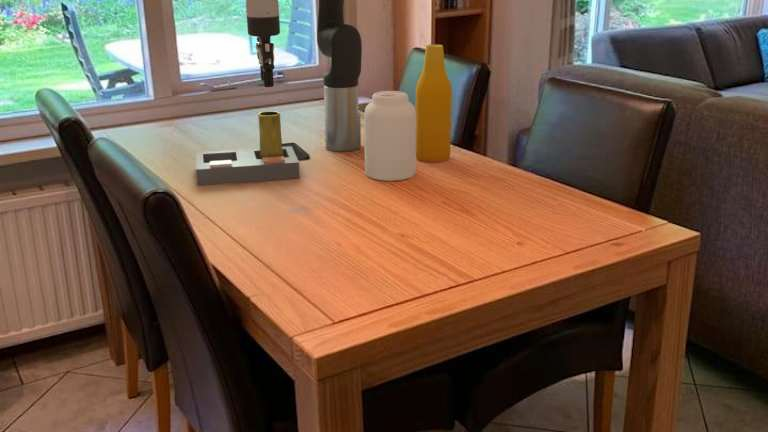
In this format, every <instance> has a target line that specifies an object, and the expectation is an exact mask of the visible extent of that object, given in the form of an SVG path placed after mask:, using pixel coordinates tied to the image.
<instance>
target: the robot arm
mask: <svg viewBox="0 0 768 432" xmlns="http://www.w3.org/2000/svg"><path fill="white" fill-rule="evenodd" d="M344 2H345V0H318V13H317V25H316V26H317V27H316V29H317V30H316V43H317V46H318V50H319V51H320V53H321V54H322V55H323V56H325V57H328V58H331V59H330V70H329V71H328V72H326V73H325V74H324V75H323V100H324V101H323V103H324V104H323V106H324V132H325V133H324V134H325V136H324V137H325V139H324V140H325V142H324V143H325V148H326V149H327V150H328V151H333V152H351V151H354V150H358V149H359V150H361V149H362V146H361V145H362V135H361V131H362V126H361V125H362V124H361V122H362V121H361V113H359V112H360V111H359V79H360V75H361V73H362V51H363V50H362V48H363V46H362V43H363V42H362V37H361V34H360V32H359V30H358V29H357V28H356V27H355V26H354V25H351V24H347V23H345V19H344V15H345V14H344V4H345V3H344ZM245 10H246V11H245V13H246V24H247V34H248V36H252V37H256V42H255V49H256V55H257V60H258V64H259V67H260V68H259V69H260V70H259V71H260V79H261V81H263V85H264V87H265V88H272V87H274V85H275V84H274V70H275V54H274V53H275V52H274V51H275V44H274V42H273V41H271V37H272V36H273V37H274V36H279V35H280V34H281V24H280V20H281V19H280V11H279V10H280V5H279V0H245Z"/></svg>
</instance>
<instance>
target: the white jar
mask: <svg viewBox="0 0 768 432" xmlns="http://www.w3.org/2000/svg"><path fill="white" fill-rule="evenodd" d="M363 120H364V121H363V122H364V123H363V125H364V126H363V128H364V129H363V130H364V131H363V132H364V138H363V139H364V173H365V175H366V176H367V177H368V178H371V179H373V180H378V181H385V182H390V181H391V182H392V181H393V182H394V181H395V182H396V181H403V180H406V179H407V180H408V179H411V178H412V177H414V176H415V175H416V171H417V164H416V163H417V158H416V106H415V105H414V104H412V102H411V101H409V95H408V94H407V93H406V92H404V91H400V90H399V91H398V90H382V91H377V92H375V93H373V94H372V96H371V101H370V102H369V103H368V104H367V105H366V106H365V110H364V113H363Z"/></svg>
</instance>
